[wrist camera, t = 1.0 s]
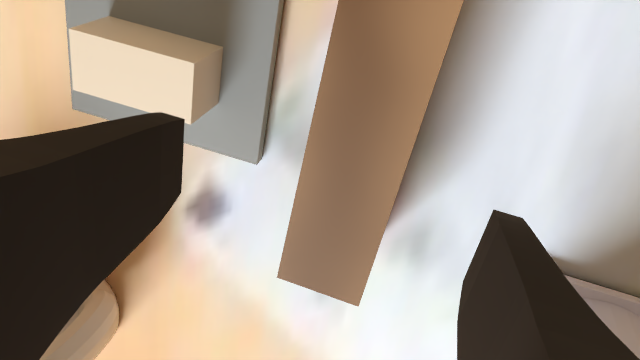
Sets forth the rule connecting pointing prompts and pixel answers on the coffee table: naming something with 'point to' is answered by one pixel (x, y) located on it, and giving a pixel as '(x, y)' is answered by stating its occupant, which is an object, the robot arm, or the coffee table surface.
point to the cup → (87, 328)
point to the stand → (179, 65)
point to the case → (362, 138)
